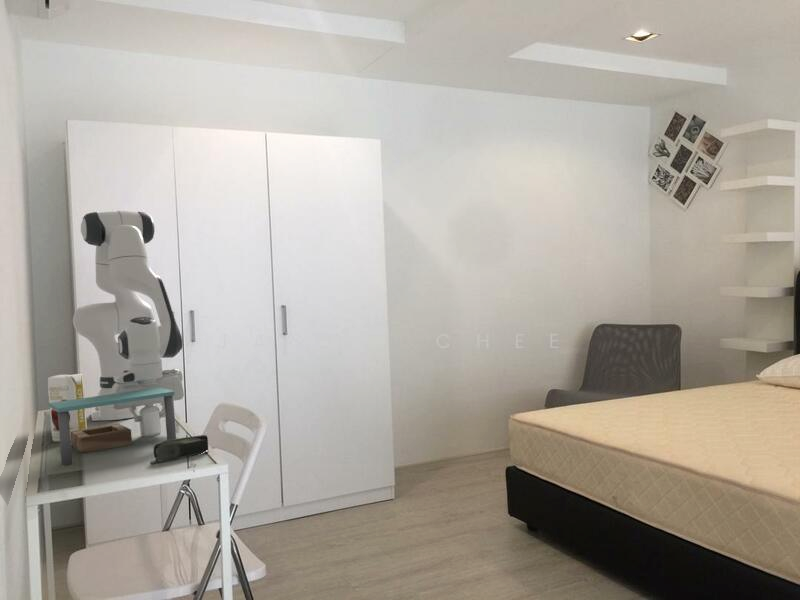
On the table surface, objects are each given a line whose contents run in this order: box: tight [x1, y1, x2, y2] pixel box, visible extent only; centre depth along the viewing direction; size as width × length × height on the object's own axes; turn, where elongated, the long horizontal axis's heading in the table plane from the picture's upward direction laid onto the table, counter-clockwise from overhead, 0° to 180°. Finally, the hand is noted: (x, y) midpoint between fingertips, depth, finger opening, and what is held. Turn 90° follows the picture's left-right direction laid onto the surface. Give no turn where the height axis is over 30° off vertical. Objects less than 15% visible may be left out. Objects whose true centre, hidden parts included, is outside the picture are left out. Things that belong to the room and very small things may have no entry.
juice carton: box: [47, 373, 88, 443], centre depth 203 cm, size 8×9×19 cm
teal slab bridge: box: [48, 387, 177, 466], centre depth 185 cm, size 12×29×14 cm, turn 127°
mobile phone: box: [149, 434, 209, 465], centre depth 174 cm, size 5×3×15 cm
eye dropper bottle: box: [139, 404, 162, 438], centre depth 203 cm, size 4×6×12 cm
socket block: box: [70, 422, 133, 454], centre depth 194 cm, size 13×13×4 cm
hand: (149, 419), depth 203 cm, fingers closed on eye dropper bottle, 6 cm apart
